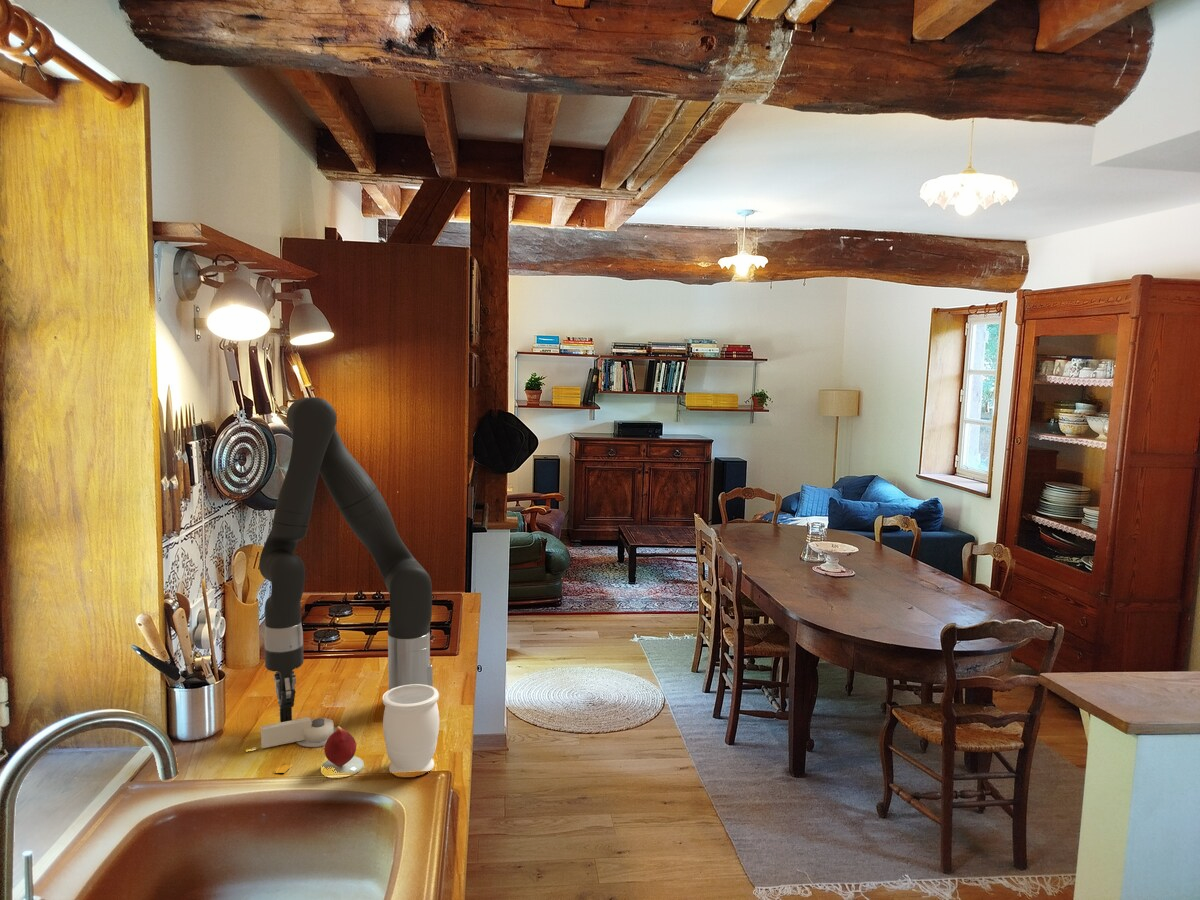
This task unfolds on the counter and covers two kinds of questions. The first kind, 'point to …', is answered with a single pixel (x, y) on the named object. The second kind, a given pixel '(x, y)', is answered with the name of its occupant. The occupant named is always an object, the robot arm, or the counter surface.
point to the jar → (411, 727)
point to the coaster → (346, 766)
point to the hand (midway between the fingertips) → (286, 722)
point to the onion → (340, 747)
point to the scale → (310, 743)
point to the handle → (296, 731)
